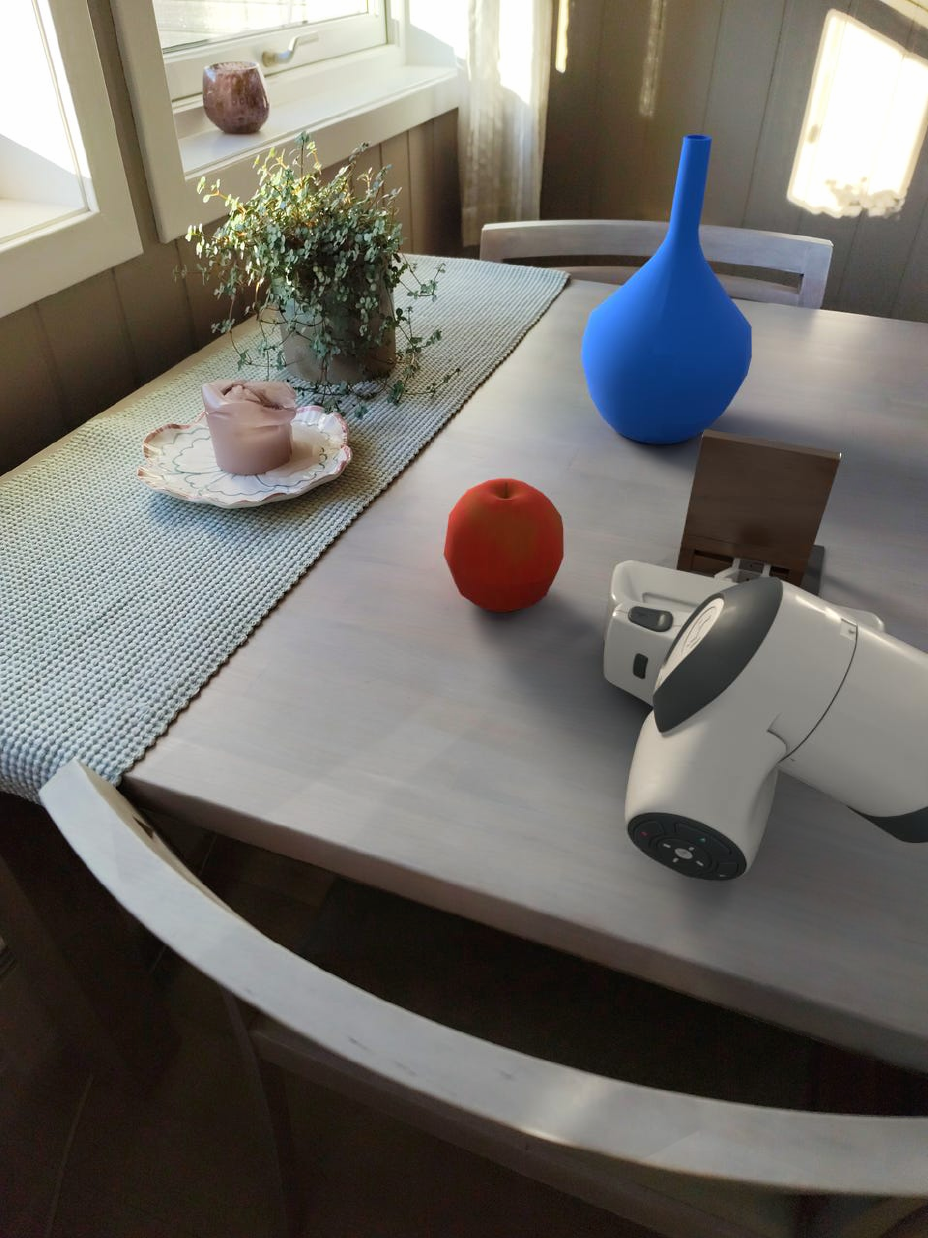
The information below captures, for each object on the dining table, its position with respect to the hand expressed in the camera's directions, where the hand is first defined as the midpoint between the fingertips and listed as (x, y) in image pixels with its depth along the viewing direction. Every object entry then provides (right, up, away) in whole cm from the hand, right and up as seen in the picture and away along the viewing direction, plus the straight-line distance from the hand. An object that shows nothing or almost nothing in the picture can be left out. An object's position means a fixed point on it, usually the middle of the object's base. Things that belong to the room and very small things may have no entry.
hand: (750, 568), depth 71 cm
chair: (+1, -1, +7) cm, 7 cm away
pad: (+3, 0, +8) cm, 9 cm away
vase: (-1, +18, +30) cm, 35 cm away
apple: (-20, -2, +6) cm, 21 cm away
